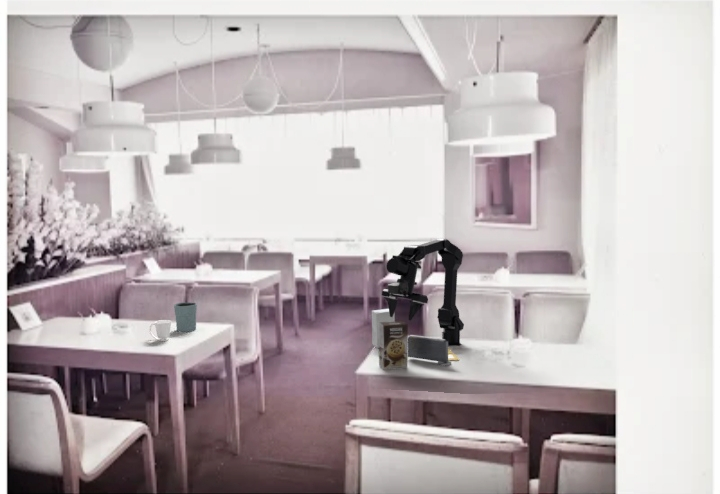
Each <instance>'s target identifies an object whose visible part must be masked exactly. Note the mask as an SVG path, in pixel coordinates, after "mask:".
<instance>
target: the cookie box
mask: <svg viewBox="0 0 720 494" xmlns="http://www.w3.org/2000/svg"><path fill="white" fill-rule="evenodd" d="M408 325H409V324H408V323H406V322H405V321H403V320H400V321H398V320H397V321H395V322H380V323H379V348H378V350H379V351H378V365H379V367H380V368H381V369H382V370H384V371H387V370H386V369H388V370H398V369H408V368H409V367H408V361H409V360H408V358H409V357H408V337H409V334H408V332H409V326H408Z"/></svg>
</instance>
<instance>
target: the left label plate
mask: <svg viewBox="0 0 720 494" xmlns="http://www.w3.org/2000/svg"><path fill="white" fill-rule="evenodd" d="M448 361H450V362H452V361H455V362H457V361H460V359H459V357H458V356H457V354H456V353H453V354H448Z"/></svg>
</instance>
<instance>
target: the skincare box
mask: <svg viewBox="0 0 720 494" xmlns="http://www.w3.org/2000/svg"><path fill="white" fill-rule="evenodd" d="M395 314H396V311H395V312H394V314H393V317H390V314H389V308H382V309H376V310H371V333H372V334H371V335H372V336H371V337H372V341H371V343H372V346H373V347H375V348H377V349H379V323H380V322H396V321H395V320H396V319H395V318H396V317H395V316H396V315H395Z"/></svg>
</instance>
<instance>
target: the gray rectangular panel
mask: <svg viewBox="0 0 720 494" xmlns="http://www.w3.org/2000/svg"><path fill="white" fill-rule="evenodd" d="M448 348H449V345H448V341H446V340H445V339H442V338H437V337H430V336H429V337H428V336H422V335H414V334H410V335H408V358H413V359H420V360H426V361H427V360H428V361H433V362H438V361H439V362H448Z"/></svg>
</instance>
